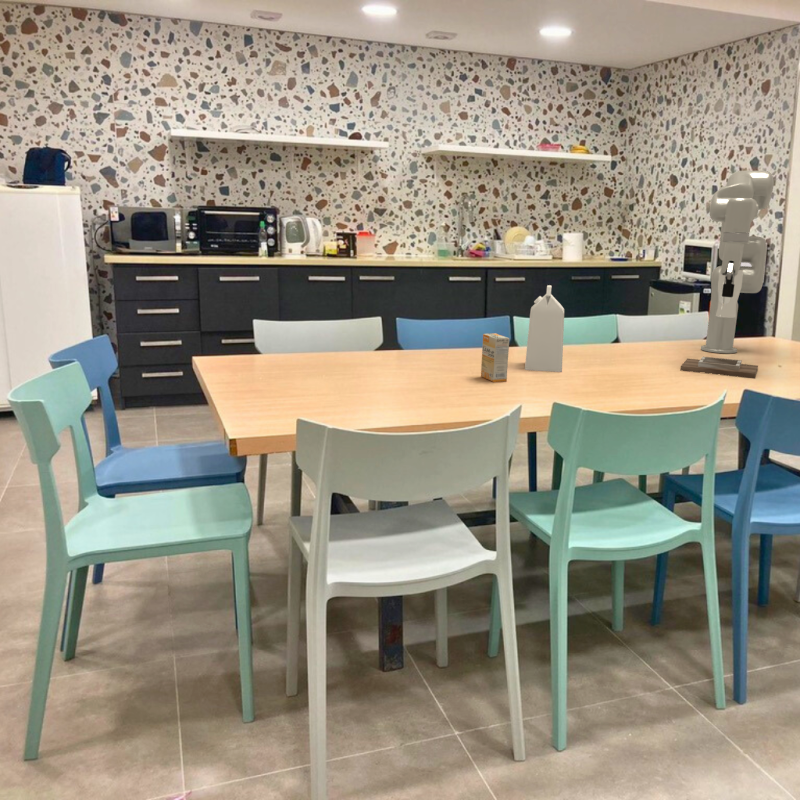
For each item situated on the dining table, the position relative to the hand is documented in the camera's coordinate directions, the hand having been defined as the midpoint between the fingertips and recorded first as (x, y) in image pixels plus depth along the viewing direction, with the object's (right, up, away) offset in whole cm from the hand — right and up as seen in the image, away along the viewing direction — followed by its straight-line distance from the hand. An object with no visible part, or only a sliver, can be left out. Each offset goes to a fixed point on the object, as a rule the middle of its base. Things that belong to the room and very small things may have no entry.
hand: (728, 295), depth 241 cm
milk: (-58, -23, +3) cm, 63 cm away
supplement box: (-77, -27, -18) cm, 84 cm away
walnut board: (-1, -24, +6) cm, 24 cm away
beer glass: (0, -7, +2) cm, 7 cm away
